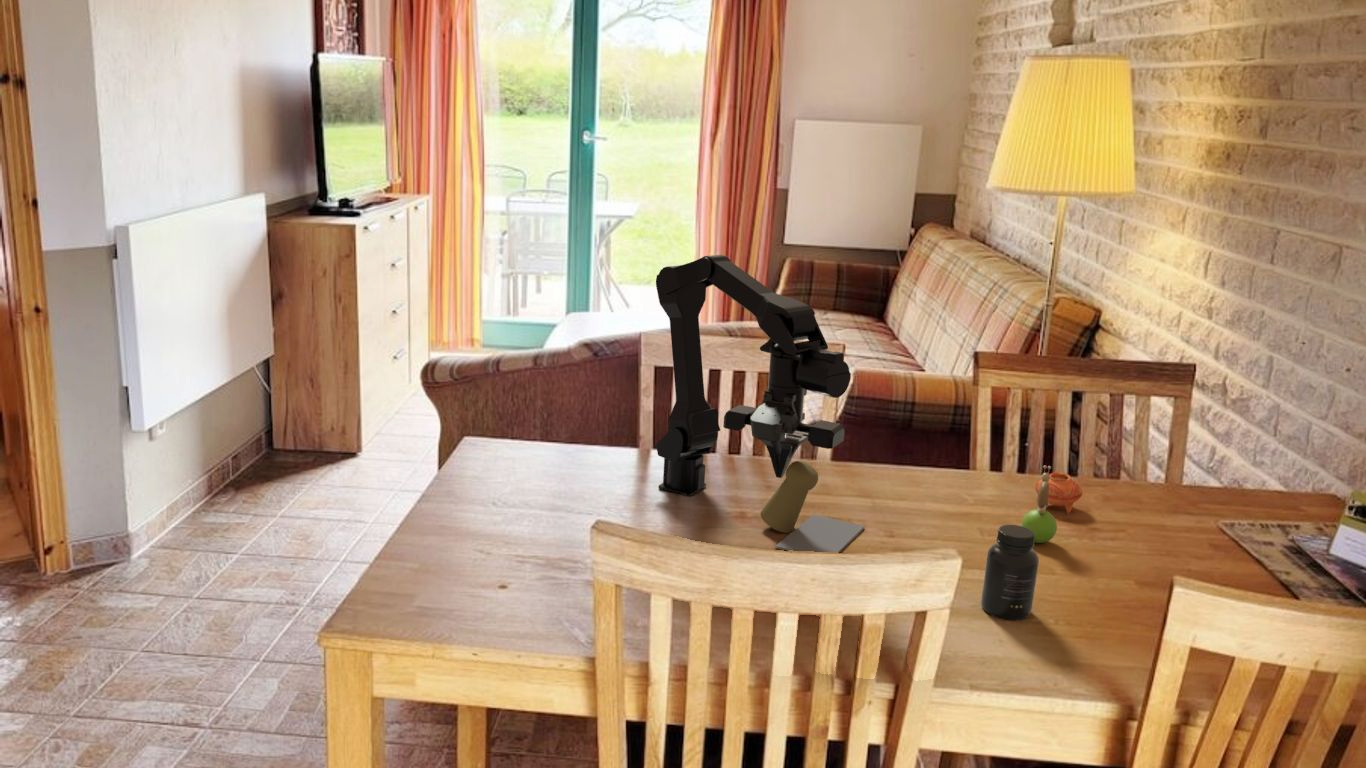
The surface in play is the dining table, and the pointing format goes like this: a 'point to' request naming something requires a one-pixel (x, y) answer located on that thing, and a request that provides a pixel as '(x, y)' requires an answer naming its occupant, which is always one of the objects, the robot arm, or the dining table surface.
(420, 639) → the dining table surface
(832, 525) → the mat
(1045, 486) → the snail figurine
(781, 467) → the robot arm
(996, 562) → the supplement bottle
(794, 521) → the cork
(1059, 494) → the pot
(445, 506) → the dining table surface
